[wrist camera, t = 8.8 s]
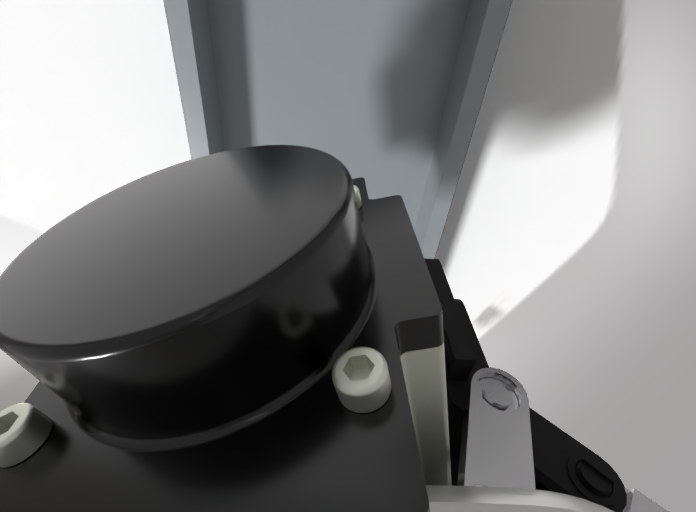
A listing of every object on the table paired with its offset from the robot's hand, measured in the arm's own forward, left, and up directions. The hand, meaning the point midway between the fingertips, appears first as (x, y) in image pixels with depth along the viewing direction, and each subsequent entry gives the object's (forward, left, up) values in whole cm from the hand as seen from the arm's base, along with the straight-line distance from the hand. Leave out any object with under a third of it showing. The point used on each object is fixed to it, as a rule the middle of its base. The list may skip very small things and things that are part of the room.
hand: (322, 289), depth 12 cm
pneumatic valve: (0, 0, -3) cm, 3 cm away
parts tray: (0, 0, -9) cm, 9 cm away
